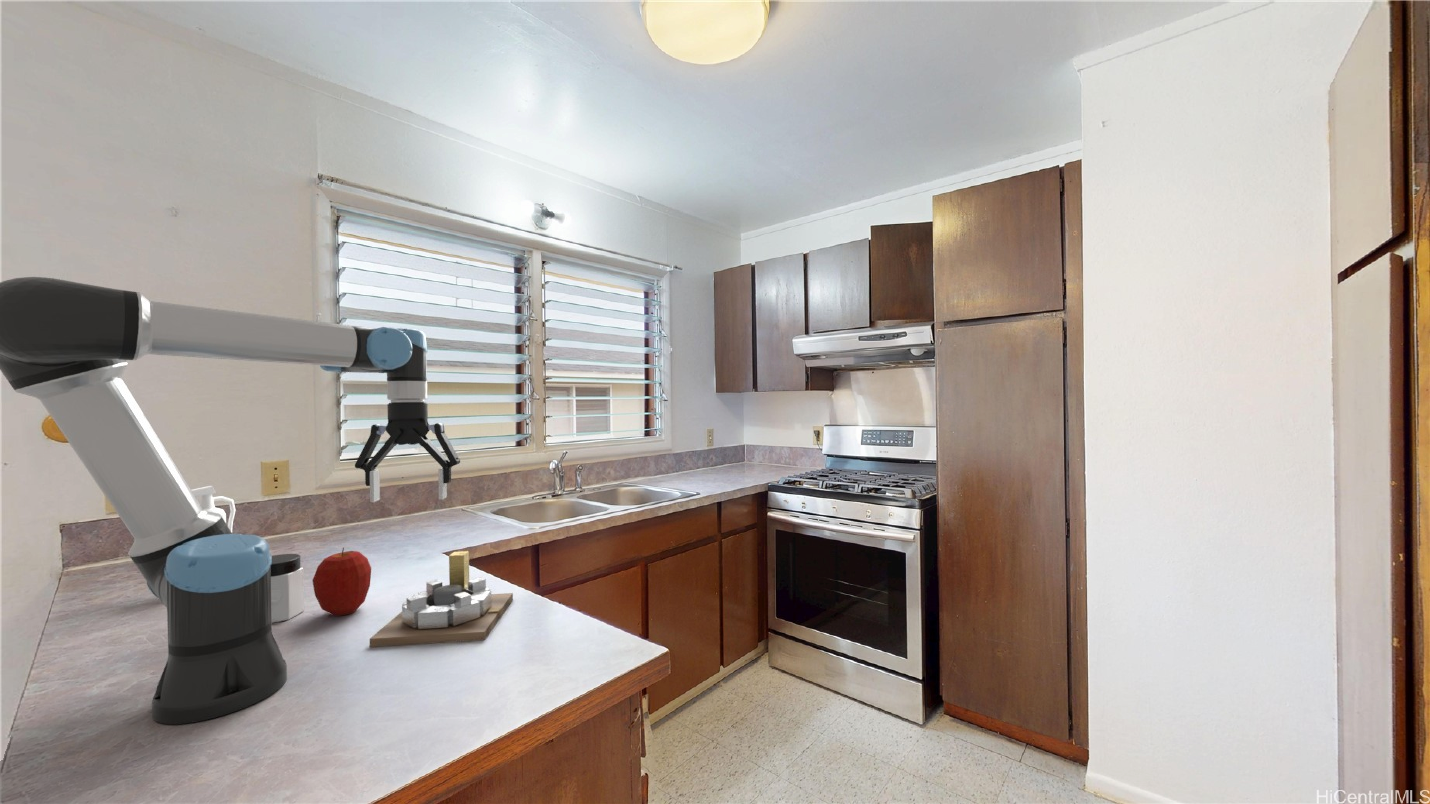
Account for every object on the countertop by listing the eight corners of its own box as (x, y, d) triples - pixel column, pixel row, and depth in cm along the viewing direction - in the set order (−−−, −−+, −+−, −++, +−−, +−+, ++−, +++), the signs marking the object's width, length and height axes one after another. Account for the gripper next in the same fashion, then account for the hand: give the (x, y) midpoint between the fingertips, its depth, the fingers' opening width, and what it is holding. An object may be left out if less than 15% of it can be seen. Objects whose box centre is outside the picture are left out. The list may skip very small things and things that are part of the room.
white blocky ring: (475, 625, 102) (474, 572, 102) (390, 630, 100) (388, 577, 100) (498, 595, 117) (498, 549, 117) (425, 599, 116) (424, 553, 116)
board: (484, 639, 100) (484, 604, 100) (369, 647, 98) (368, 611, 98) (512, 599, 120) (512, 570, 120) (417, 605, 118) (417, 575, 117)
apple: (359, 600, 121) (358, 538, 121) (381, 609, 116) (380, 544, 115) (304, 616, 112) (303, 549, 112) (326, 626, 107) (324, 556, 107)
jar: (245, 628, 107) (244, 568, 107) (252, 615, 113) (251, 558, 113) (302, 617, 112) (301, 560, 111) (305, 605, 118) (304, 551, 118)
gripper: (473, 400, 122) (475, 494, 122) (353, 402, 118) (355, 499, 118) (463, 400, 114) (465, 500, 115) (334, 402, 111) (336, 505, 111)
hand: (409, 499), depth 116 cm, fingers open, 13 cm apart
